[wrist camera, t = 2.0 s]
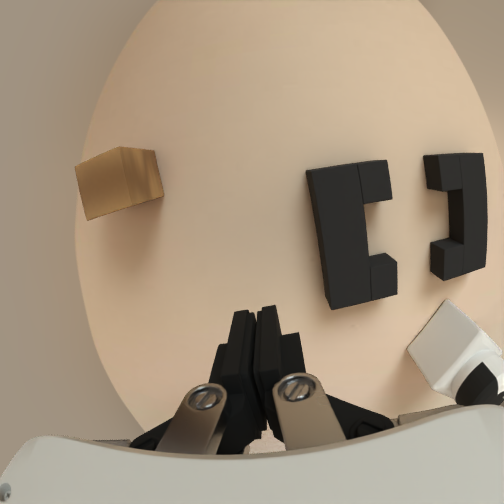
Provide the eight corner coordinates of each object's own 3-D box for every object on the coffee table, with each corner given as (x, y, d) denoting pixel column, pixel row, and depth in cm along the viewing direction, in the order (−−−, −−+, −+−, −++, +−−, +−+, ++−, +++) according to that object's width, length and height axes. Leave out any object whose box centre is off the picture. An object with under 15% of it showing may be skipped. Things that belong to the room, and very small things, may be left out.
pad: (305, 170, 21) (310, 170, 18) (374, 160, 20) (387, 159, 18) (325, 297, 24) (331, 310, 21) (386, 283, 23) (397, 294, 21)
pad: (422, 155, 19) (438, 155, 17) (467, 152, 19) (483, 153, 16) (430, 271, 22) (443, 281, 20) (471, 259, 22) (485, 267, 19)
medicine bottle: (435, 366, 26) (478, 432, 14) (404, 348, 25) (452, 427, 14) (472, 321, 24) (527, 378, 12) (445, 296, 23) (513, 360, 12)
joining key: (115, 164, 21) (74, 166, 15) (154, 150, 21) (119, 146, 15) (125, 207, 22) (86, 221, 16) (164, 195, 22) (132, 206, 16)
